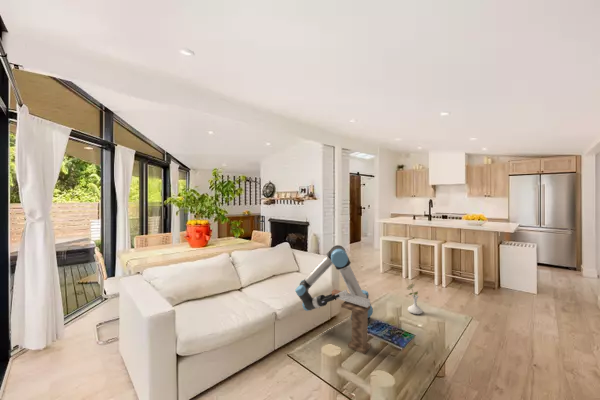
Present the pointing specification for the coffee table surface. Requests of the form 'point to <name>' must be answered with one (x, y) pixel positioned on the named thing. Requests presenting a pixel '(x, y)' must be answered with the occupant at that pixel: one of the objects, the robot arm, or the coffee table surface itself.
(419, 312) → the flower in vase
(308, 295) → the robot arm
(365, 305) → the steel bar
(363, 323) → the walnut stand
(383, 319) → the coffee table surface
